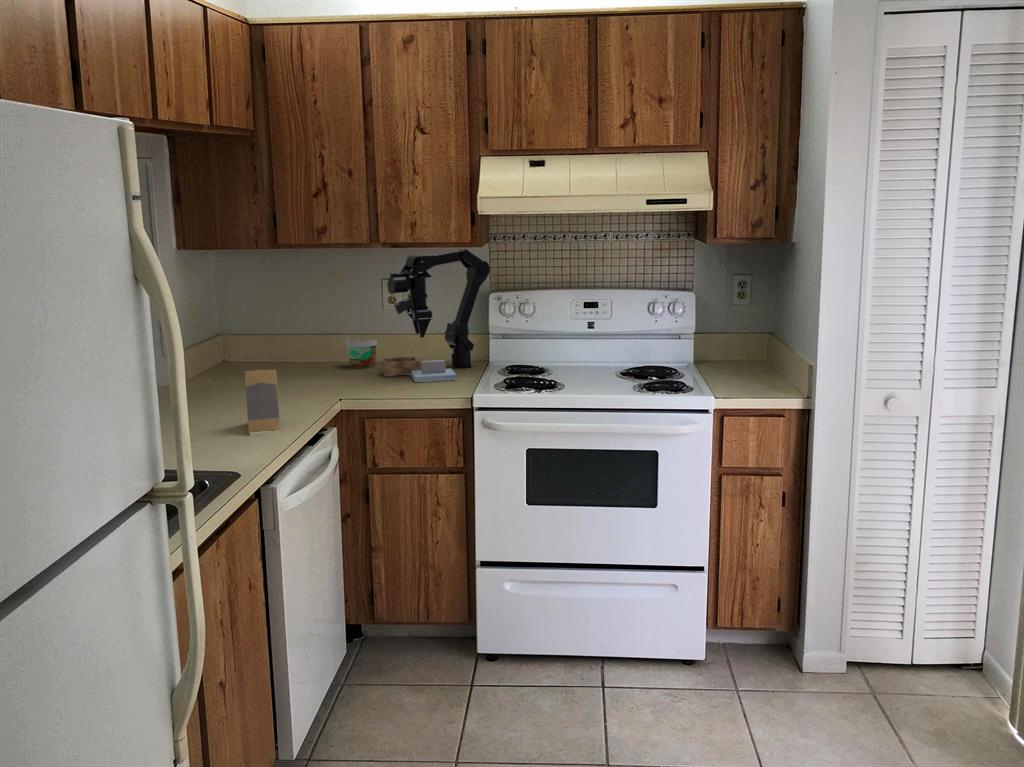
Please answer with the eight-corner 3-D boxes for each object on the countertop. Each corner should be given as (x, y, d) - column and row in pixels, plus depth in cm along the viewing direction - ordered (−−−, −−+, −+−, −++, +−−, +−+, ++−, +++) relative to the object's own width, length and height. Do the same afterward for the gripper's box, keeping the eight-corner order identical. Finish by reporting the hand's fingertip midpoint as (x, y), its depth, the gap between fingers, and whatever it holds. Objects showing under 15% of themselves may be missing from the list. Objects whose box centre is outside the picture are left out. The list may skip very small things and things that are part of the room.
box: (416, 370, 330) (415, 356, 329) (419, 374, 322) (418, 360, 321) (382, 372, 328) (381, 358, 327) (384, 377, 319) (384, 362, 318)
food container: (340, 367, 337) (339, 340, 335) (348, 364, 343) (346, 338, 341) (371, 369, 334) (370, 341, 331) (378, 366, 339) (377, 339, 337)
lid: (451, 374, 322) (450, 357, 321) (456, 380, 312) (456, 362, 311) (411, 376, 319) (410, 359, 318) (415, 382, 309) (414, 365, 308)
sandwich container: (247, 437, 244) (243, 381, 241) (248, 423, 259) (244, 370, 256) (281, 434, 247) (277, 379, 244) (279, 421, 261) (276, 368, 258)
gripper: (390, 289, 328) (392, 333, 332) (399, 295, 311) (401, 341, 314) (421, 288, 331) (423, 331, 335) (431, 293, 314) (433, 339, 317)
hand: (419, 335), depth 325 cm, fingers open, 9 cm apart
